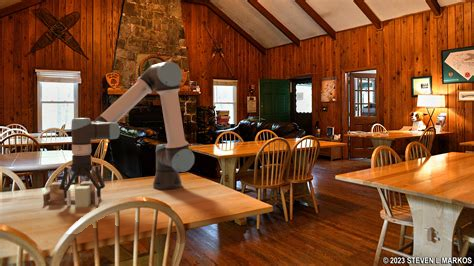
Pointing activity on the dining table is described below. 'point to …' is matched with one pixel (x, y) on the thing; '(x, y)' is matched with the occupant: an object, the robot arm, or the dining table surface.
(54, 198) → the cradle
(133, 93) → the robot arm
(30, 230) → the dining table surface
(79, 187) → the beige rectangular block
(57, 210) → the dining table surface
